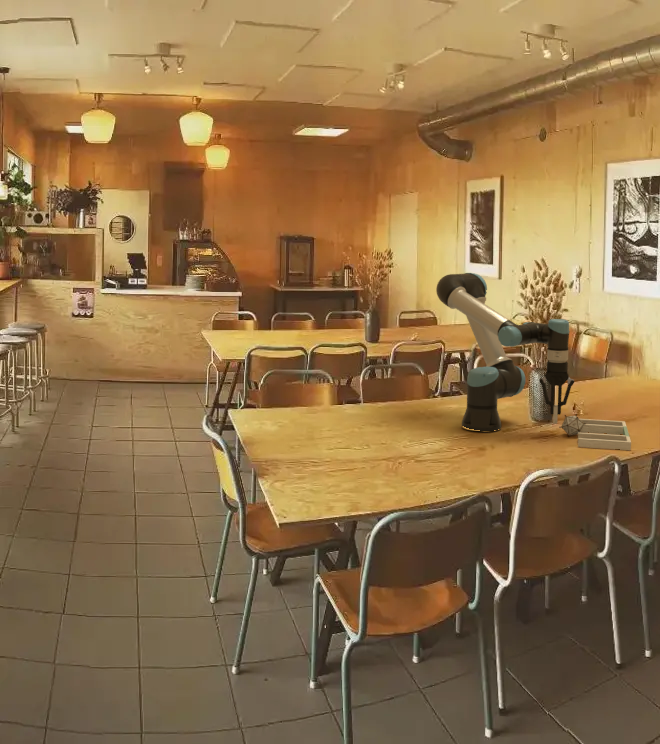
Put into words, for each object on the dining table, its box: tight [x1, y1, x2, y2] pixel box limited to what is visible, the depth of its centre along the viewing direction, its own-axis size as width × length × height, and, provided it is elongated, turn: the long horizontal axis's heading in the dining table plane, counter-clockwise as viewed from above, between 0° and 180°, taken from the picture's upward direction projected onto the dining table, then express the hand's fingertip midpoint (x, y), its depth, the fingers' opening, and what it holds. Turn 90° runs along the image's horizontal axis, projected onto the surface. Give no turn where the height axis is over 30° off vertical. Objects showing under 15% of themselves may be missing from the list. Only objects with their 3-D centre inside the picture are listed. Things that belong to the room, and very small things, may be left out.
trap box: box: [577, 418, 632, 451], centre depth 304 cm, size 18×32×3 cm, turn 164°
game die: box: [558, 413, 586, 438], centre depth 307 cm, size 9×8×10 cm
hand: (555, 422), depth 308 cm, fingers closed
